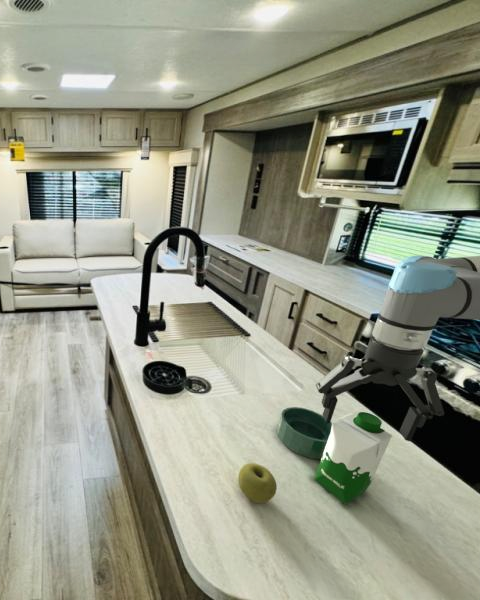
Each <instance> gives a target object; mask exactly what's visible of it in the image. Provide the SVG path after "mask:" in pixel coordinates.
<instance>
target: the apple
mask: <svg viewBox="0 0 480 600" xmlns="http://www.w3.org/2000/svg"><path fill="white" fill-rule="evenodd" d="M238 485H239V488H240V490H241V492H242V493H243V495H244V496H245V497H247V499H248V500H250V501H252V502H255V503H257V504H265V503H268V502H270V501H271V500H272V499H273V498H274V497H275V495H276V494H277V489H278V488H277V487H278V486H277V481H276V479H275V476H274V475H273V474H272V473H271V471H270V470H269V469H268V468H266V467H265V466H264V465H261V464H259V463H254V462H248V463H246V464H244V465H243V466H241V468H240V469H239V472H238Z"/></svg>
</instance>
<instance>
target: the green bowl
mask: <svg viewBox="0 0 480 600" xmlns="http://www.w3.org/2000/svg"><path fill="white" fill-rule="evenodd" d="M332 423H333V422H332V421H331V422H330V423H326V422H325V419H324V417H323V414H320V413H319V412H316V411H314V410H312V409H308V408H304V407H297V406H291V407H286V408H285V409H283V410H282V411H281V413H280V417H279V421H278V425H277V428H276V433H277V437H278V438H279V440H280V441H281V443H282V444H283V445H285V446H286V447H287V448H288V449H289V450H290V451H292V452H295V453H297V454H298V455H301V456H303V457H306V458H309V459H315V460H321V458H322V455H323V453H324V450H325V447H326V444H327V441H328V438H329V436H330V433H331V428H332Z"/></svg>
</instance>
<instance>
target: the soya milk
mask: <svg viewBox="0 0 480 600" xmlns="http://www.w3.org/2000/svg"><path fill="white" fill-rule="evenodd" d="M382 424H383V422H382V420H381V419H380V417H378V416H376V415H375V414H372V413H370V412H366V411H359V412H358V413H357V414H356V413H354V412H351V413H349V414H346V415H345V416H342V417H339V418H338V419H336V420H335V421H333V422H332V428H331V433H330V436H329V438H328V441H327V444H326V447H325V450H324V453H323V455H322V458H321V459H320V462H319V464H318V468H317V470H316V473H315V476H314V479H313V480H314V481H315V482H316V483H318V484H319V485H320V486H321V487H322V488H323V489H325V490H326V491H328V492H329V493H330V494H332V496H334V497H335V498H336V499H338V500H339V501H340V502H341V503H343V504H344V505H348V504H349V503H351V502H352V501H354V500H355V499H357V498H358V497H361V496H362V495H363V494H365V493H366V491H367V489H368V488H369V486H370V485H371V483H372V482H373V479H374V477H375V475H376V472H377V471H378V468H379V466H380V464H381V461H382V459H383V457H384V455H385V452H386V450H387V448H388V446H389V443H390V441H391V439H392V437H393V434H391V433H389V432H388V431H386V430H385V429H383V428H381V427H382Z"/></svg>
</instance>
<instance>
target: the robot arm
mask: <svg viewBox="0 0 480 600" xmlns="http://www.w3.org/2000/svg"><path fill="white" fill-rule="evenodd" d="M439 318H443V319H444V318H445V319H461V320H462V319H463V320H474V321H475V320H478V321H480V255H473V256H461V257H460V256H459V257H445V258H434V257H432V256H427V255H412V256H409V257H405V258H404V259H402V260H401V261H399V262H398V263H397V264H396V266H395V267H394V269H393V273H392V275H391V277H390V280H389V283H388V284H387V289H386V293H385V295H384V299H383V302H382V305H381V307H380V310H379V314H378V316H377V319H376V321H375V324H374V327H373V329H372V332H371V335H372V336H371V337H370V338H369V341H368V344H367V346H366V350H365V354H364V356H363V357H362V358H361V359H359V358H355V357H352V356H351V355H350V354H344V355H343V357H342V358H341V361H340V362H339V363H338V364H337V365H336V366H335V367H334V368H332V369H331V370H330V371H329V372H327V373H326V374H325V375H324V376H323V377H322V378H320V379H319V381H317V382H316V383H315V387H316V389H317V392H318V393H319V394H323V396H322V398H321V405H322V407H323V408H324V409H323V411H322V416H323V417H324V419H325V422H326V423H330V422H332V418H333V417H334V412H335V409H336V406H337V404H338V397H337V396H339V395H341V394H344V393H346V392H347V391H351V390H353V389H354V388H356V387H358V386H361V385H366V384H369V383H371V382H372V383H373V384H376V385H377V384H378V385H386V386H389V387H395V386H398V385H399V386H400V388H401V389H402V390H403V391H404V393H405V394H406V395H407V397H408V398H409V400H410V401H411V402H412V403H413V405H414V406H415V407H414V406H413V407H412V406H409V408H408V410H407V413H406V415H405V417H404V420H403V422H402V424H401V427H400V429H399V433H400V434H401V436H402V437H403V439H404V441H407V442H411V441H412V439H413V437H414V434H415V432H416V430H417V428H422V427H423V426H424V425H425V423H426V421H427V420H431V419H433V418H434V416H438V417H443V416H444V415H445V411H444V408H443V404H442V401H441V398H440V394H439V390H438V388H437V384H436V382H437V378H438V374H437V373H436V372H435V371H434V370H433V369H432V368H431V367H430V366H427V365H424V366H422V367H418V366H419V364H420V361H421V360H422V357H423V354H424V349H425V348H426V347H427V344H428V343H429V340H430V338H431V335H432V333H433V330H434V329H435V327H436V324H437V322H438V320H440V319H439ZM357 367H361V368H358V369H356V368H357ZM355 369H356V370H355ZM352 370H354V373H351V374H350V372H351V371H352ZM348 374H349V375H348ZM415 376H417V377H418V378H419V380H420V383H421V385H422V389H423V392H424V395H425V399H426V401H427V404H425V403H424V402H423V401H422V399H421V398H420V397H419V396H418V393H416V391H415V390H414V389H413V388H412V386H411V384H410V383H409V382H408V380H411V379H412V378H415Z"/></svg>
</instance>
